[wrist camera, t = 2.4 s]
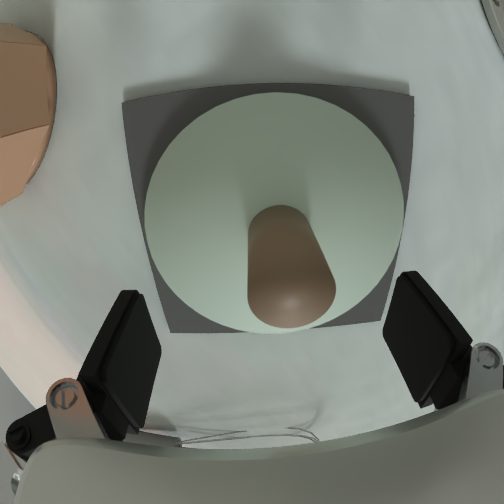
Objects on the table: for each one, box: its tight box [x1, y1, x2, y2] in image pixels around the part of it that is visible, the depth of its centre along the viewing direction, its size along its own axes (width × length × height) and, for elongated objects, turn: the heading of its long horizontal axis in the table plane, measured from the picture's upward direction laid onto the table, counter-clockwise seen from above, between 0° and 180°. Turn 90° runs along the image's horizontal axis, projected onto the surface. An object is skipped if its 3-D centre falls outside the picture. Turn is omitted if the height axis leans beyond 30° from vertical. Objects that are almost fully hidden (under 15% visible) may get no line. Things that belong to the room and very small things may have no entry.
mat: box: [122, 83, 414, 333], centre depth 15 cm, size 15×15×1 cm
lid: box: [144, 92, 404, 334], centre depth 12 cm, size 14×14×6 cm
